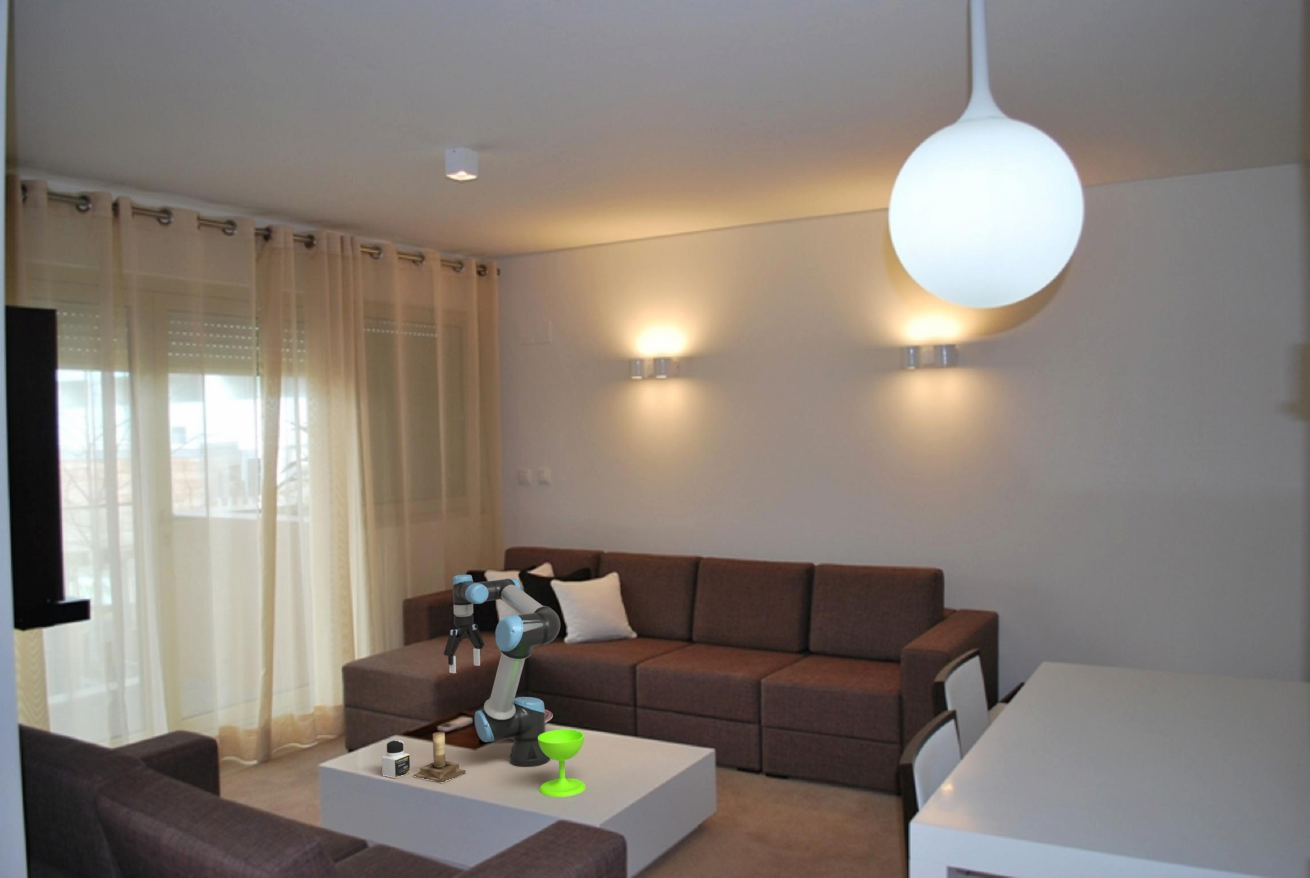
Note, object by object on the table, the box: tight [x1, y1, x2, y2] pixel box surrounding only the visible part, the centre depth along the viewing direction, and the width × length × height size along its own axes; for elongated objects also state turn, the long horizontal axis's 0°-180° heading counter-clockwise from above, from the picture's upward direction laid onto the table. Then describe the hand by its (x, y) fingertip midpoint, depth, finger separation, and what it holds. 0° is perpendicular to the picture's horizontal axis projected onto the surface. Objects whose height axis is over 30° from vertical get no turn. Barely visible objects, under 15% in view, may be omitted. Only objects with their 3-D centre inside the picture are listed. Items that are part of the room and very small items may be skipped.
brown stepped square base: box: [413, 760, 467, 783], centre depth 349 cm, size 14×12×3 cm
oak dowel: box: [432, 731, 447, 770], centre depth 349 cm, size 4×4×14 cm
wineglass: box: [538, 728, 587, 798], centre depth 332 cm, size 16×16×18 cm
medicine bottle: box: [381, 739, 411, 779], centre depth 351 cm, size 7×7×12 cm
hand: (465, 669), depth 377 cm, fingers open, 13 cm apart
